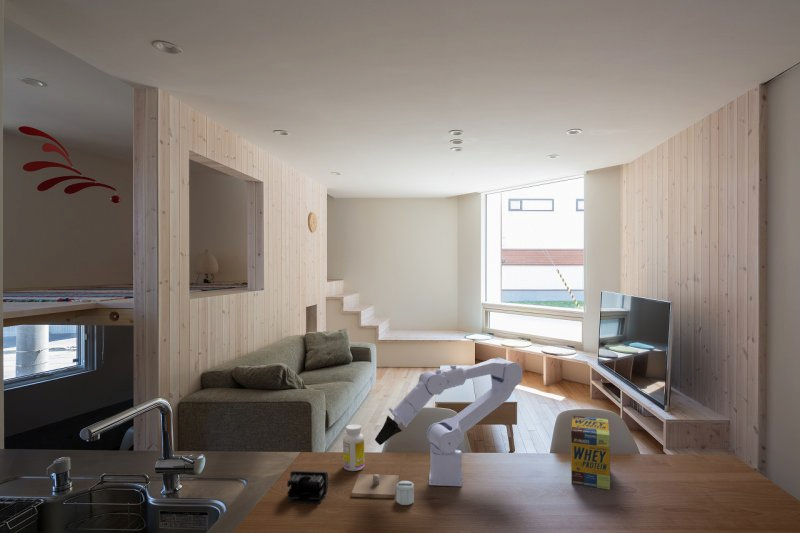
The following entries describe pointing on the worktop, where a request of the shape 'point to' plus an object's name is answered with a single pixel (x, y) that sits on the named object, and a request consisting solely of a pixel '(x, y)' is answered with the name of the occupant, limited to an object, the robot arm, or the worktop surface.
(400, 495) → the cap
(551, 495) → the worktop surface
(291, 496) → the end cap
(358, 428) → the supplement bottle
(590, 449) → the protein box
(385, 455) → the worktop surface
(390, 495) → the post board
